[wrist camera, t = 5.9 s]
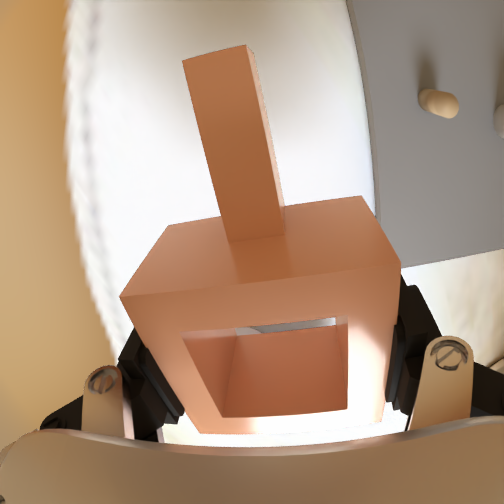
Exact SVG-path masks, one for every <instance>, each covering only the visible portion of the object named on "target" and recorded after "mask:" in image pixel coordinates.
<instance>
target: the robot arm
mask: <svg viewBox="0 0 504 504" xmlns="http://www.w3.org/2000/svg"><path fill="white" fill-rule="evenodd" d="M118 360H119V362H118V364H117V366H112V365H107V366H102V367H100V368H98V369H96V370H95V371H93V372H92V373H91V374H90V375H89V376H88V378H87V380H86V381H85V386H84V394H83V395H82V396H81V397H79V398H77V399H76V400H74V401H72V402H70V403H69V404H67V405H65V406H64V407H62V408H60V409H58V410H57V411H55V412H54V413H52V414H50V415H49V416H47V417H46V418H45V419H44V421H43V422H42V424H41V426H40V430H38V429H35V430H34V431H32V432H30V433H27V434H25V435H23V436H21V437H20V438H19V439H18V440H17V441H15V442H13V443H11V444H10V445H8V446H6V447H5V448H4V449H2V451H1V452H0V504H504V358H503V359H501V360H500V361H498V362H497V363H496V364H494V365H493V366H491V367H490V368H488V367H485V366H483V365H481V364H478V363H476V362H474V356H473V351H472V349H471V347H470V345H469V344H468V343H466V342H465V341H464V340H462V339H460V338H458V337H454V336H442V335H441V333H440V331H439V328H438V326H437V324H436V322H435V320H434V318H433V316H432V314H431V312H430V310H429V308H428V306H427V304H426V302H425V300H424V298H423V296H422V294H421V292H420V290H419V288H418V287H417V286H416V285H411V286H407V285H406V283H405V281H404V279H403V277H402V275H401V277H400V292H399V305H398V316H397V324H396V325H394V330H393V339H392V348H391V355H390V363H389V370H388V376H387V383H386V389H385V399H386V402H392V406H393V410H399V409H400V411H401V412H402V413H404V414H406V415H408V417H407V421H406V424H405V428H404V432H399V433H394V434H388V435H382V436H376V437H370V438H364V439H357V440H350V441H342V442H334V443H324V444H313V445H300V446H283V447H208V446H191V445H178V444H167V443H164V438H163V432H162V428H161V427H162V426H163V425H164V423H165V424H177V423H178V420H179V416H183V414H184V411H185V408H184V407H183V405H182V403H181V402H180V400H179V399H178V397H177V396H176V394H175V392H174V391H173V389H172V388H171V386H170V384H169V383H168V381H167V380H166V378H165V376H164V375H163V373H162V371H161V370H160V368H159V366H158V364H157V363H156V361H155V359H154V358H153V356H152V354H151V352H150V350H149V349H148V348H146V347H145V345H144V343H143V342H142V340H141V338H140V336H139V334H138V333H137V331H136V329H135V327H134V329H133V331H132V332H131V334H130V336H129V338H128V340H127V342H126V344H125V346H124V348H123V350H122V352H121V354H120V356H119V358H118Z"/></svg>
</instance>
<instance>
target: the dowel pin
mask: <svg viewBox="0 0 504 504" xmlns="http://www.w3.org/2000/svg"><path fill="white" fill-rule="evenodd" d="M418 103H419V106H420V107H421V108H422V109H423V110H425V111H427V112H430V113H433V114H436V115H439V116H442V117H445V118H453V117H454V116H456V114H457V113H458V110H459V103H458V100H457V98H456V97H455V96H454V95H453V94H452V93H448V92H443V91H438V90H432V89H423V90H422V91H420V93H419V95H418Z"/></svg>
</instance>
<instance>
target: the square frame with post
mask: <svg viewBox="0 0 504 504" xmlns="http://www.w3.org/2000/svg"><path fill="white" fill-rule="evenodd" d="M182 63H183V67H184V71H185V75H186V80H187V84H188V88H189V92H190V96H191V100H192V104H193V108H194V112H195V116H196V120H197V124H198V128H199V132H200V136H201V140H202V144H203V148H204V152H205V156H206V160H207V164H208V168H209V171H210V175H211V179H212V183H213V187H214V191H215V195H216V198H217V202H218V206H219V210H220V213H221V216H219V217H213V218H207V219H201V220H196V221H190V222H184V223H179V224H173V225H168V226H167V228H166V229H165V231H164V232H163V233H162V235H161V236H160V238H159V239H158V240H157V242H156V243H155V245H154V246H153V247H152V249H151V250H150V252H149V253H148V255H147V256H146V257H145V259H144V260H143V262H142V263H141V265H140V266H139V268H138V269H137V270H136V272H135V273H134V275H133V276H132V278H131V279H130V281H129V282H128V284H127V285H126V287H125V288H124V290H123V291H122V293H121V294H120V296H119V298H120V300H121V302H122V304H123V306H124V308H125V310H126V312H127V314H128V316H129V318H130V319H131V321H132V323H133V325H134V327H135V329H136V331H137V333H138V334H139V336H140V338H141V340H142V342H143V343H144V345H145V347H146V348H148V349H149V350H150V352H151V354H152V356H153V358H154V359H155V361H156V363H157V364H158V366H159V368H160V370H161V371H162V373H163V375H164V376H165V378H166V380H167V381H168V383H169V384H170V386H171V388H172V389H173V391H174V392H175V394H176V396H177V397H178V399H179V400H180V402H181V403H182V405H183V407H184V408H185V412H186V414H187V415H188V417H189V418H190V420H191V421H192V423H193V424H194V426H195V427H196V429H197V430H198V431H199V433H202V434H274V433H292V432H305V431H317V430H326V429H335V428H343V427H350V426H357V425H364V424H370V423H376V422H381V420H382V415H383V410H384V405H385V400H386V399H385V389H386V383H387V376H388V370H389V363H390V355H391V348H392V339H393V330H394V325H396V324H397V316H398V305H399V292H400V277H401V261H400V259H399V257H398V256H397V254H396V252H395V250H394V249H393V247H392V245H391V243H390V242H389V240H388V238H387V236H386V235H385V233H384V231H383V230H382V228H381V226H380V225H379V223H378V221H377V220H376V218H375V216H374V215H373V213H372V211H371V210H370V208H369V207H368V205H367V203H366V202H365V200H364V199H363V197H362V196H353V197H346V198H338V199H331V200H323V201H316V202H309V203H302V204H295V205H288V206H285V205H284V199H283V194H282V189H281V183H280V178H279V173H278V167H277V162H276V157H275V152H274V147H273V142H272V137H271V132H270V127H269V122H268V117H267V112H266V108H265V103H264V98H263V94H262V89H261V84H260V80H259V75H258V71H257V66H256V62H255V58H254V53H253V52H252V51H251V50H250V49H249V48H248V47H247V45H242V46H237V47H233V48H228V49H224V50H220V51H216V52H212V53H208V54H204V55H200V56H197V57H193V58H190V59H186V60H183V61H182ZM331 317H335V320H336V325H332V326H325V327H317V328H309V329H300V330H291V331H282V332H272V333H261V334H250V335H238V336H237V334H236V331H235V328H240V327H251V326H262V325H272V324H282V323H291V322H299V321H308V320H316V319H324V318H331Z"/></svg>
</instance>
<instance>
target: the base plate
mask: <svg viewBox="0 0 504 504" xmlns="http://www.w3.org/2000/svg"><path fill="white" fill-rule="evenodd" d="M346 3H347V7H348V11H349V15H350V19H351V24H352V28H353V33H354V38H355V42H356V47H357V52H358V58H359V63H360V69H361V75H362V81H363V87H364V93H365V100H366V107H367V115H368V123H369V131H370V141H371V151H372V162H373V174H374V189H375V209H376V220H377V221H378V223H379V225H380V226H381V228H382V230H383V231H384V233H385V235H386V236H387V238H388V240H389V242H390V243H391V245H392V247H393V249H394V250H395V252H396V254H397V256H398V257H399V259H400V261H401V268H406V267H412V266H418V265H423V264H428V263H434V262H439V261H444V260H450V259H455V258H460V257H465V256H470V255H475V254H480V253H485V252H490V251H494V250H499V249H504V0H346ZM423 89H432V90H438V91H443V92H448V93H452V94H453V95H454V96H455V97H456V98H457V100H458V103H459V110H458V113H457V114H456V116H454V117H453V118H445V117H442V116H439V115H436V114H433V113H430V112H427V111H425V110H423V109H422V108H421V107H420V106H419V103H418V95H419V93H420V91H422V90H423Z"/></svg>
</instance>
